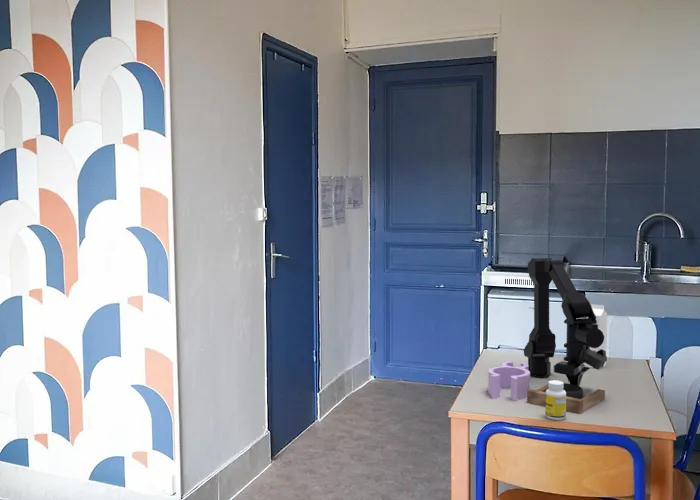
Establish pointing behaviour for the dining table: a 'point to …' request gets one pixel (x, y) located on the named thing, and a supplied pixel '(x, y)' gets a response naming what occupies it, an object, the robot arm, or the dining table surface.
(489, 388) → the clip
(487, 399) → the dining table surface
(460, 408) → the dining table surface
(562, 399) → the supplement bottle
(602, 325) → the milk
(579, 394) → the smart speaker
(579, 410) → the wooden tray
